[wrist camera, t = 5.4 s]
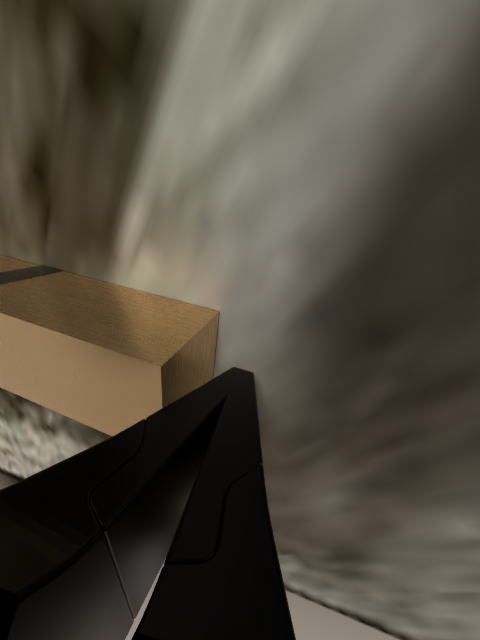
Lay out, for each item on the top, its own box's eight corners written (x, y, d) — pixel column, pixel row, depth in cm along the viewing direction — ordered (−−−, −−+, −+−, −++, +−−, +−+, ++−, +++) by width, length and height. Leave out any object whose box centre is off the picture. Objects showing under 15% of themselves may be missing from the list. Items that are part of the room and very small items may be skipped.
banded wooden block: (219, 310, 8) (159, 367, 5) (212, 384, 10) (163, 462, 7) (-65, 237, 12) (-203, 245, 9) (-36, 300, 13) (-144, 326, 10)
